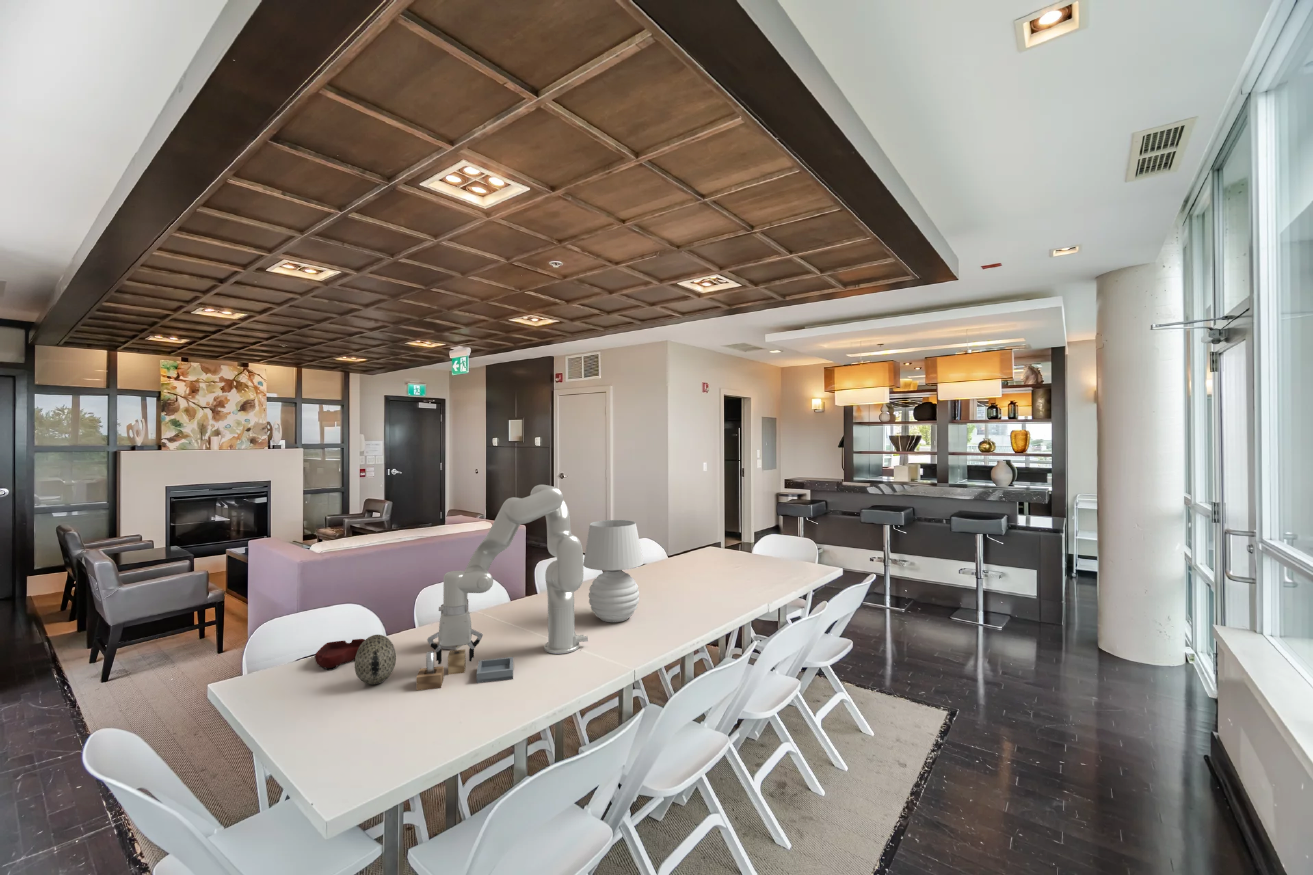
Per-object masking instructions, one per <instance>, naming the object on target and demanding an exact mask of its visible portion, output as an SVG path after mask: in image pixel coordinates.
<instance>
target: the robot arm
mask: <svg viewBox="0 0 1313 875" xmlns="http://www.w3.org/2000/svg"><path fill="white" fill-rule="evenodd" d="M544 516H545V520H546V521H545V522H546V537H547V538H546V539H547V542H546V543H547V544H546V545H547V550H548V553H549V554H550V555H551V556H552V557H554V558H556V560H552V562H550V563H549V564H548V565H547V567H546V568H545V585H546V593H547V594H546V595H547V633H548V634H547V635H548V636H547V639H548V640H547V642H546V643H544V646H543V649H544V651H545V652H547V653H549V654H556V655H560V654H561V655H562V654H563V655H564V654H569V653H572V652H575V651H576V650H578V649H579V648H580V642H588V641H589V640H588V635H584V634H580V635H579V634H577V633H576V631H575V630H576V628H575V593H574V592H577V591H578V590H579V589H580V588H581V586H582V584H583V581H584V566H583V563H584V550H583V545H582V541H581V540H580V538H579V537H578V536H576V535H574V534H573V533H572V527H571V526H572V525H571V517H570V516H571V514H570V510H569V507H568V505H567V502H566V501H565V500H564V494H563V491H561V490H560V488H558V487H556V486H552V485H549V484H547V485H546V484H538V485H535V486H534V487H533V488H532V489H531V491H530V495H528V496H526V497H522V498H521V497H517V496H516V497H513V496H512V497H509V498H507V499H506V500H505V501H504V502H503V504H502V505H501V507H500V508H499V510H498V513H497V515H496V517H495V519H494V521H493V523H492V525H491V527H490V529H489V531H488V533H487V534H486V536H485V537H484V539H482V541H481V543H480V544H479V545H478V546H477V547H476V549H475V551H474V552H473V554H472V555H471V558H470V559H469V561H468V562H467V563H468V564H467V566H466V567H465V570H451V571H448V572H446V573H445V574H444V575H443V585H442V586H443V594H442V595H443V598H442V599H443V603H442V604H443V606H441V605H440V606H438V611H439V612H441V611H442V612H443V614H442V615H441V614H440V618H439V625H438V631H437V632H436V633H434V634H432V635H430V636H428V637H427V639H426V640H427V643H428V645H430V648H431V649H433V651H434V652H435V661H436V662H437V664H438V665H441V664H442V661H443V660H442V659H443V658H442V655H443V654H442V653H443V651H442V649H441V648H442V647H449V646H461V647H463V646H468V647H469V650H468V653H469V654H468V661H469V662H470V663H471V662H472V661H473V658H475V648H476V647H478V645H479V644H480V642H481V640H482V638H483V636H484V633H483V632H480V631H477V630H475V629H474V628H473V627H472V620H471V614H470V611H469V610H468V611H467V608H468V609H469V599H468V596H469V595H468V594H483V593H486V592H488V591H489V590H491V588H492V587H493V585H494V577H493V576H492V574H491V573H490V572H489V569H490V567H491V565H492V563H493V562H494V561H495V559H496V557H497V556H498V555H499V554H501V553H502V552H503V551H505V550H507V549H508V548H509V547H511V544H512V542H513V541H514V538H515V536H516V534H517V532H518V530H519V527H521V525H525V524H529V523H531V522H533V521H536V520H538V519H541V518H542V517H544ZM467 602H468V603H467ZM473 636H475V637H477V638H476V639H475V640H474V641H473V640H472V637H473ZM437 638H438V642H437V643H438V644H437V643H436V642H434V640H436V639H437ZM462 645H463V646H462Z"/></svg>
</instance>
